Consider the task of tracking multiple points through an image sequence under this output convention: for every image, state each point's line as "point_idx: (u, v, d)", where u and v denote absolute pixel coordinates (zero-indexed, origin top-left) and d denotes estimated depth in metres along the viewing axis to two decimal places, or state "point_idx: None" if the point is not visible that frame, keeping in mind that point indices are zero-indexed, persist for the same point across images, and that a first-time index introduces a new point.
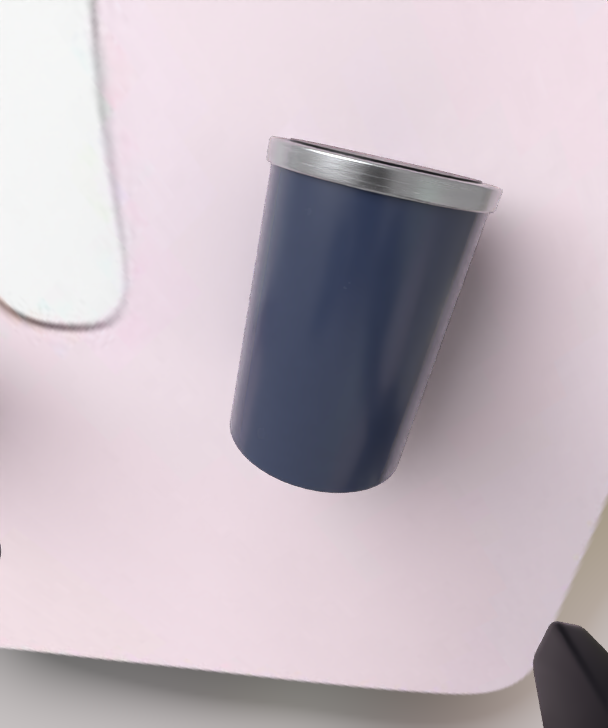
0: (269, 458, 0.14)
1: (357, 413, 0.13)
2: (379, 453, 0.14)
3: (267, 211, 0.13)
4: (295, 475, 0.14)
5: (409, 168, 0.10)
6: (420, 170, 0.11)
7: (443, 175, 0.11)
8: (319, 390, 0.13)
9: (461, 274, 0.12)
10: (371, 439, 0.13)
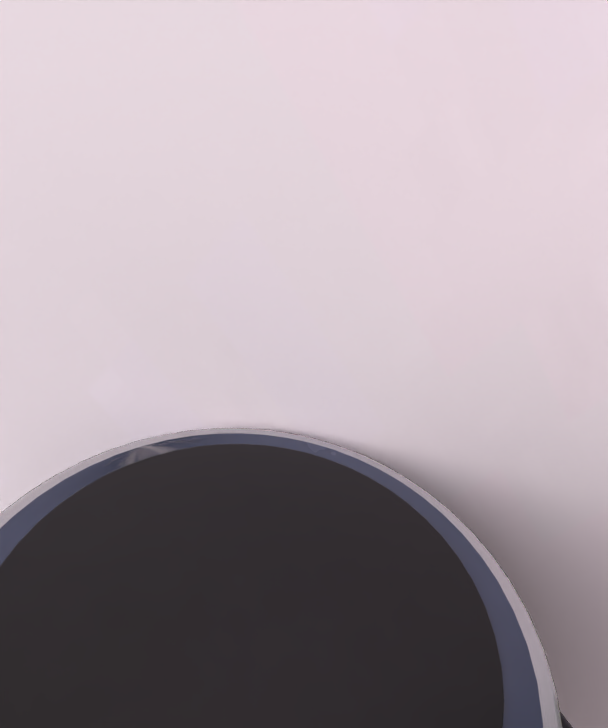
0: None
1: None
2: None
3: None
4: None
5: None
6: None
7: None
8: None
9: None
10: None
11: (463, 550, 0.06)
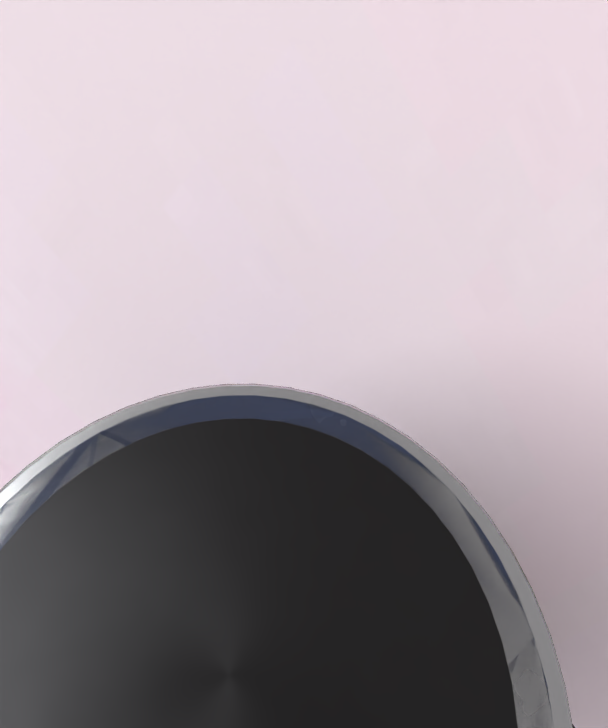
0: None
1: None
2: None
3: None
4: None
5: None
6: None
7: None
8: None
9: None
10: None
11: (496, 586, 0.05)
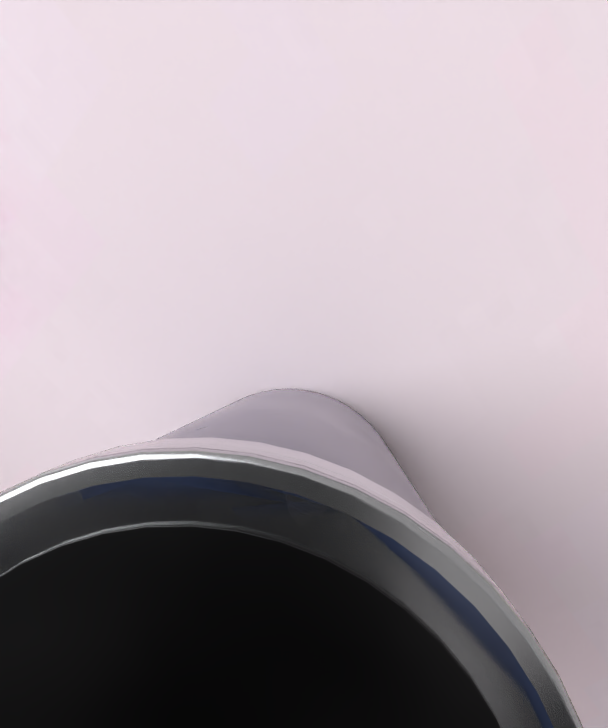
0: None
1: None
2: None
3: None
4: None
5: None
6: None
7: None
8: None
9: None
10: None
11: None
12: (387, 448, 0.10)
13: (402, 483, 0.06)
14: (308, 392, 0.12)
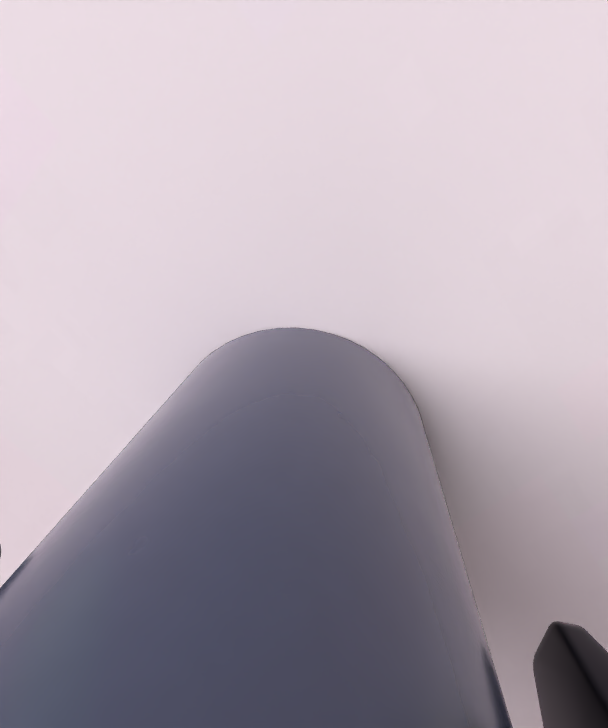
0: None
1: None
2: None
3: None
4: None
5: None
6: None
7: None
8: None
9: None
10: None
11: None
12: (412, 428, 0.08)
13: (432, 604, 0.04)
14: (317, 336, 0.10)
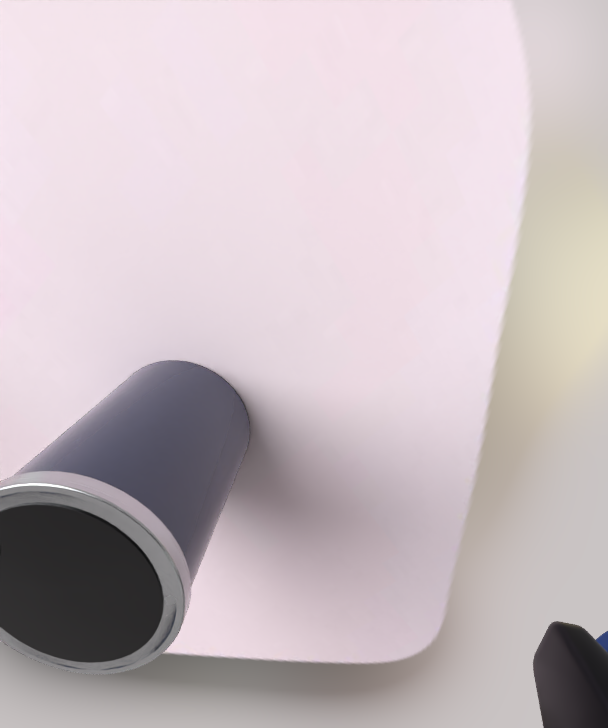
0: None
1: None
2: None
3: None
4: None
5: (81, 662, 0.13)
6: (90, 662, 0.13)
7: (110, 660, 0.13)
8: None
9: None
10: None
11: (161, 573, 0.12)
12: (217, 411, 0.18)
13: (170, 462, 0.14)
14: (185, 366, 0.19)
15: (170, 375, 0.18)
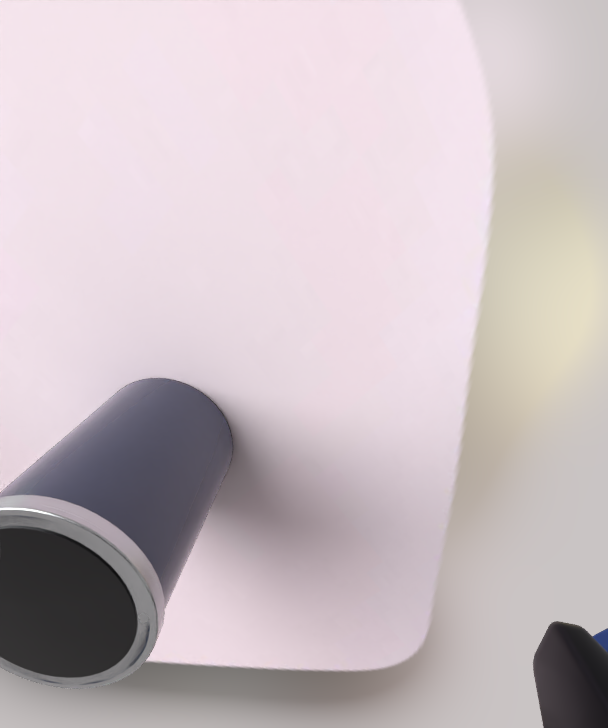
0: None
1: None
2: None
3: None
4: None
5: (61, 677, 0.14)
6: (70, 677, 0.14)
7: (88, 675, 0.13)
8: None
9: None
10: None
11: (134, 591, 0.12)
12: (197, 429, 0.18)
13: (145, 482, 0.14)
14: (167, 383, 0.20)
15: (152, 393, 0.19)
